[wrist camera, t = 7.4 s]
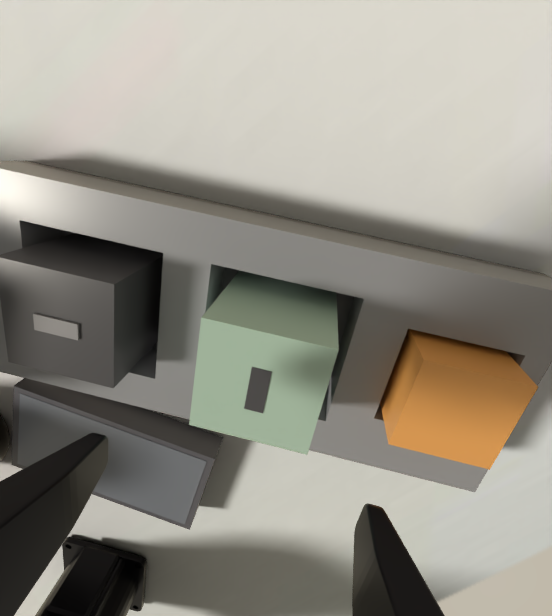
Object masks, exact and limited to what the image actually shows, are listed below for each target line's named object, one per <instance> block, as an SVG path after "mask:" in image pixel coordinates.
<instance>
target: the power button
mask: <svg viewBox="0 0 552 616" xmlns="http://www.w3.org/2000/svg"><path fill="white" fill-rule="evenodd" d="M537 388H538V386H537V385H536V384H535V383H534V382H533V380H532V379H531V378H530V377H529V376H528V375H527V374H526V373H525V372H524V371H523V369H522V368H521V367H520V366H519V365H518V364H517V363H516V362H515V361H514V359H513V358H512V357H511V356H510V355H509V354H508V353H507V352H506V351H503V350H499V349H495V348H490V347H486V346H482V345H477V344H473V343H469V342H464V341H460V340H456V339H451V338H447V337H443V336H438V335H434V334H430V333H425V332H421V331H417V330H412V329H408V330H407V333H406V336H405V338H404V341H403V343H402V346H401V349H400V351H399V354H398V357H397V359H396V362H395V364H394V367H393V370H392V372H391V375H390V378H389V380H388V383H387V385H386V388H385V391H384V393H383V396H382V398H381V401H380V405H381V410H382V415H383V420H384V425H385V429H386V434H387V439H388V444H389V445H393V446H397V447H401V448H405V449H409V450H413V451H417V452H421V453H425V454H429V455H433V456H437V457H441V458H445V459H449V460H453V461H457V462H461V463H465V464H469V465H473V466H477V467H481V468H485V469H489V470H490V468H491V466H492V465H493V463H494V461H495V459H496V458H497V456H498V454H499V453H500V451H501V449H502V448H503V446H504V444H505V443H506V441H507V439H508V437H509V436H510V434H511V432H512V431H513V429H514V427H515V426H516V424H517V422H518V421H519V419H520V417H521V415H522V414H523V412H524V410H525V409H526V407H527V405H528V404H529V402H530V400H531V399H532V397H533V395H534V393H535V392H536V390H537Z"/></svg>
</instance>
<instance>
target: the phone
mask: <svg viewBox="0 0 552 616" xmlns="http://www.w3.org/2000/svg"><path fill="white" fill-rule="evenodd" d="M89 433H98V434H102V435H105V436H107V437H108V463H107V466H106V468H105V470H104V472H103V474H102V476H101V478H100V479H99V481H98V483H97V485H96V487H95V489H94V490H93V492H92V494H93V495H96V496H99V497H102V498H104V499H107V500H110V501H113V502H115V503H118V504H121V505H124V506H126V507H129V508H132V509H135V510H137V511H140V512H143V513H146V514H148V515H151V516H154V517H157V518H159V519H162V520H165V521H168V522H170V523H173V524H176V525H178V526H181V527H184V528H187V529H189V530H190V527H191V525H192V522H193V519H194V517H195V514H196V511H197V509H198V506H199V503H200V501H201V498H202V495H203V492H204V490H205V487H206V484H207V481H208V478H209V476H210V473H211V470H212V467H213V465H214V462H215V459H216V456H217V453H218V451H219V448H220V445H221V442H222V440H223V437H221V436H218V435H215V434H213V433H210V432H207V431H204V430H202V429H199V428H196V427H194V426H191V425H188V424H185V423H183V422H180V421H177V420H175V419H172V418H169V417H166V416H164V415H161V414H158V413H156V412H153V411H150V410H147V409H145V408H141V407H137V406H133V405H130V404H126V403H122V402H118V401H114V400H110V399H106V398H102V397H98V396H94V395H90V394H86V393H82V392H78V391H74V390H70V389H66V388H63V387H59V386H55V385H51V384H47V383H43V382H39V381H35V380H31V379H27V378H24V379H23V380H21V381H20V382H18V383H17V384H16V385H14V395H13V435H12V465H14V466H17V467H19V468H22V469H24V468H26V467H28V466H30V465H32V464H34V463H36V462H37V461H39V460H41V459H43V458H45V457H47V456H49V455H50V454H52V453H54V452H56V451H58V450H60V449H61V448H63V447H65V446H67V445H69V444H71V443H73V442H74V441H76V440H78V439H80V438H82V437H84V436H85V435H87V434H89Z"/></svg>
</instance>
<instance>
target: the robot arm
mask: <svg viewBox="0 0 552 616" xmlns="http://www.w3.org/2000/svg"><path fill="white" fill-rule="evenodd" d="M107 463H108V437H107V436H105V435H102V434H98V433H89V434H87V435H85V436H84V437H82V438H80V439H78V440H76V441H74V442H73V443H71V444H69V445H67V446H65V447H63V448H61V449H60V450H58V451H56V452H54V453H52V454H50V455H49V456H47V457H45V458H43V459H41V460H39V461H37V462H36V463H34V464H32V465H30V466H28V467H26V468H24V469H23V470H21V471H19V472H17V473H15V474H13V475H12V476H10V477H8V478H6V479H4V480H2V481H0V616H14V615H15V613H16V612H17V610H18V609H19V607H20V606H21V604H22V603H23V601H24V600H25V598H26V597H27V595H28V594H29V592H30V591H31V589H32V588H33V586H34V585H35V583H36V582H37V581H38V579H39V578H40V576H41V575H42V573H43V572H44V570H45V569H46V567H47V566H48V564H49V563H50V561H51V560H52V558H53V557H54V555H55V554H56V552H57V551H58V549H59V548H60V546H61V545H62V547H63V560H64V572H63V574H62V575H61V577H60V578H59V580H58V581H57V583H56V584H55V586H54V587H53V589H52V591H51V592H50V594H49V595H48V597H47V598H46V600H45V601H44V603H43V604H42V606H41V608H40V609H39V611H38V612H37V614H36V615H35V616H126V615H127V613H128V611H129V609H130V610H134V611H141V609H142V607H143V604H144V593H145V579H146V564H147V562H146V560H145V558H143V557H141V556H137V555H134V554H130V553H127V552H123V551H119V550H116V549H112V548H109V547H105V546H101V545H98V544H94V543H91V542H87V541H83V540H80V539H76V538H72V537H67V536H68V534H69V533H70V531H71V530H72V528H73V527H74V525H75V523H76V521H77V520H78V518H79V516H80V514H81V512H82V511H83V509H84V507H85V505H86V503H87V501H88V500H89V498H90V496H91V494H92V492H93V490H94V489H95V487H96V485H97V483H98V481H99V479H100V478H101V476H102V474H103V472H104V470H105V468H106V466H107ZM352 608H353V616H444V614H443V612H442V611H441V609H440V607H439V605H438V603H437V602H436V600H435V598H434V596H433V595H432V593H431V591H430V590H429V588H428V586H427V584H426V583H425V581H424V579H423V577H422V576H421V574H420V572H419V570H418V569H417V567H416V565H415V563H414V562H413V560H412V558H411V556H410V555H409V553H408V551H407V549H406V548H405V546H404V544H403V542H402V541H401V539H400V537H399V535H398V534H397V532H396V530H395V528H394V527H393V525H392V523H391V521H390V520H389V518H388V516H387V514H386V513H385V511H384V509H383V508H381V507H379V506H376V505H372V504H365V505H364V507H363V509H362V512H361V514H360V517H359V519H358V521H357V524H356V527H355V534H354V564H353V596H352Z"/></svg>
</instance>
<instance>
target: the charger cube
mask: <svg viewBox="0 0 552 616" xmlns="http://www.w3.org/2000/svg"><path fill="white" fill-rule="evenodd" d="M338 350H339V345H338V319H337V294H336V292H332V291H328V290H323V289H319V288H314V287H310V286H306V285H301V284H297V283H293V282H288V281H284V280H279V279H275V278H271V277H266V276H262V275H258V274H253V273H249V272H244V271H239V272H238V273H237V274H236V276H235V277H234V278H233V279H232V280H231V282H230V283H229V284H228V285H227V287H226V288H225V289H224V290H223V291H222V293H221V294H220V295H219V296H218V298H217V299H216V300H215V301H214V302H213V304H212V305H211V306H210V307H209V309H208V310H207V311H206V312H205V314H204V315H203V316H202V317H201V324H200V333H199V342H198V350H197V359H196V368H195V377H194V386H193V394H192V403H191V412H190V421H189V425H192V426H196V427H199V428H203V429H207V430H211V431H215V432H219V433H223V434H227V435H231V436H235V437H239V438H243V439H247V440H251V441H255V442H259V443H263V444H267V445H271V446H275V447H279V448H283V449H287V450H290V451H294V452H298V453H302V454H306V455H307V454H308V451H309V448H310V444H311V441H312V438H313V434H314V431H315V428H316V424H317V421H318V417H319V414H320V411H321V407H322V404H323V401H324V397H325V394H326V391H327V387H328V384H329V381H330V377H331V374H332V371H333V367H334V364H335V360H336V357H337V354H338Z"/></svg>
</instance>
